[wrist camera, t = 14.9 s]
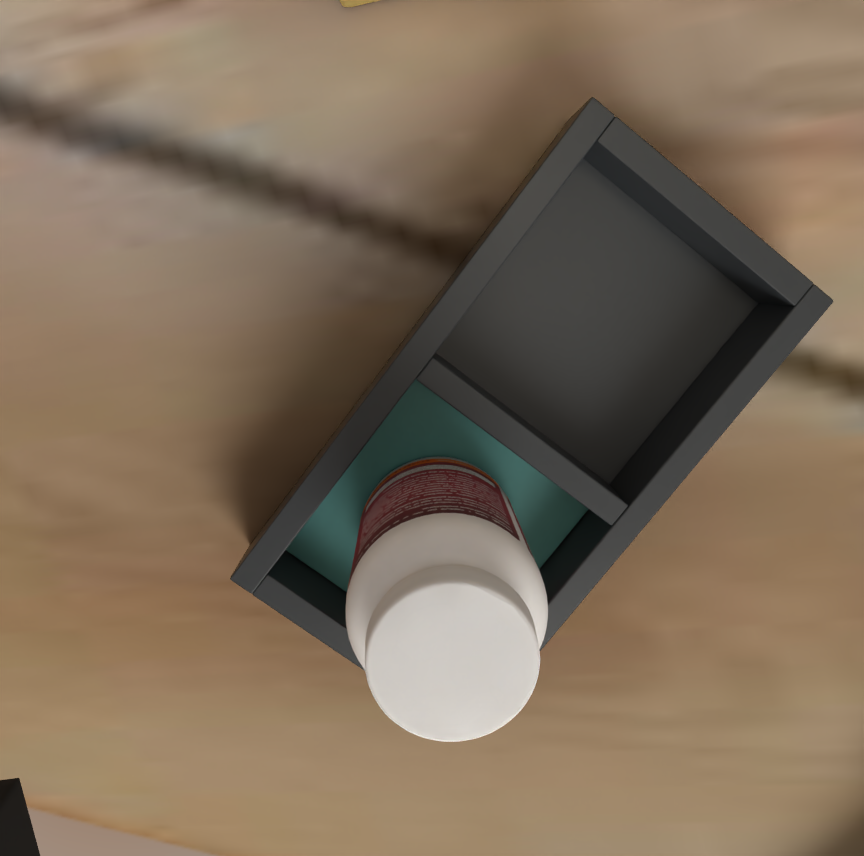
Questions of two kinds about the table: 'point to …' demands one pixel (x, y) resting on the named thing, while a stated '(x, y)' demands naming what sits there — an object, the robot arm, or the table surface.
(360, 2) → the cheese
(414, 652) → the pill bottle
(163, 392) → the table surface
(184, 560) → the table surface
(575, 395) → the box
